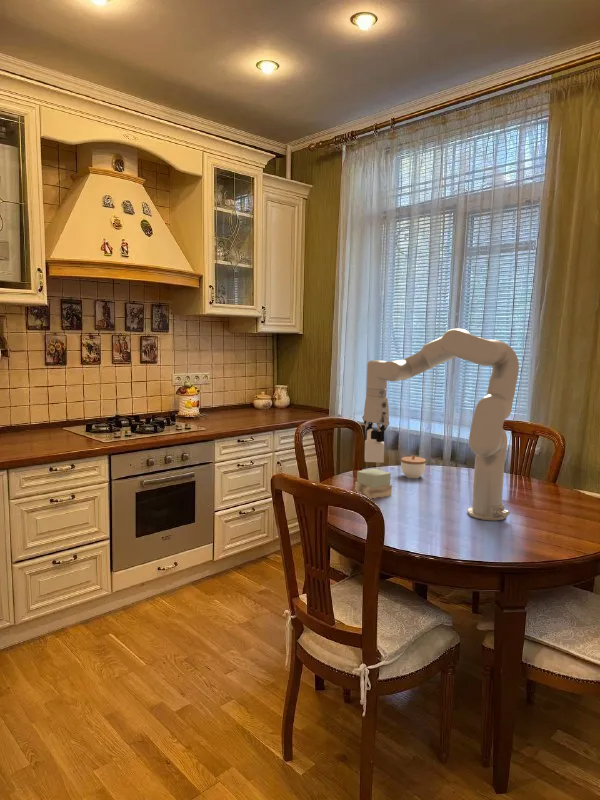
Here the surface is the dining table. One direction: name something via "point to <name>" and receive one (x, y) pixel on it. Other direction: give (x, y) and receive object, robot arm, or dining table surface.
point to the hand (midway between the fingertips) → (374, 439)
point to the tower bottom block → (373, 490)
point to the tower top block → (373, 478)
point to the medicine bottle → (373, 447)
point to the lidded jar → (413, 466)
